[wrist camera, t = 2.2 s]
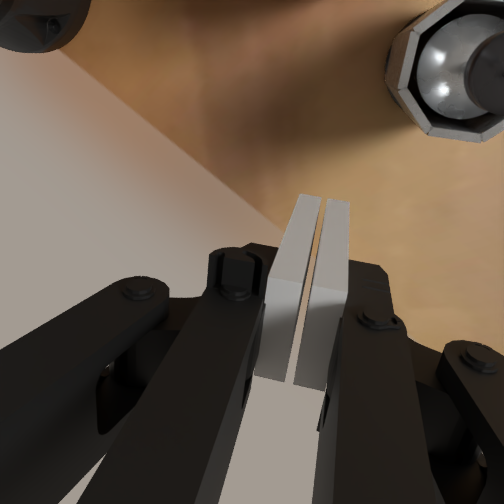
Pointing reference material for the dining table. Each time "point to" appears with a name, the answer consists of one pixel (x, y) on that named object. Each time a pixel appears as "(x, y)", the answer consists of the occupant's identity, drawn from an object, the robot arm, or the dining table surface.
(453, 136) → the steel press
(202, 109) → the dining table surface
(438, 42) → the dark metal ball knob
